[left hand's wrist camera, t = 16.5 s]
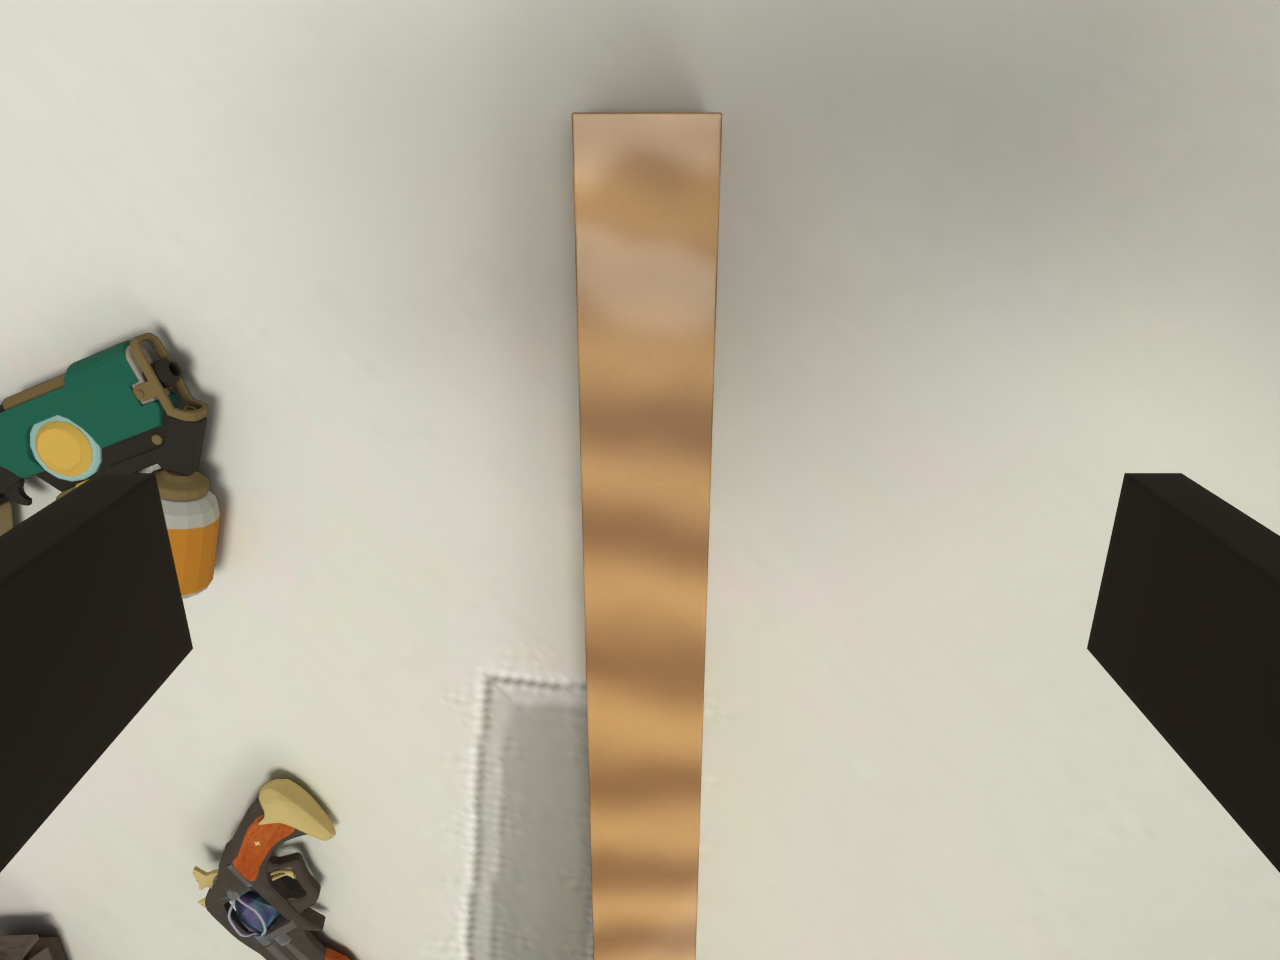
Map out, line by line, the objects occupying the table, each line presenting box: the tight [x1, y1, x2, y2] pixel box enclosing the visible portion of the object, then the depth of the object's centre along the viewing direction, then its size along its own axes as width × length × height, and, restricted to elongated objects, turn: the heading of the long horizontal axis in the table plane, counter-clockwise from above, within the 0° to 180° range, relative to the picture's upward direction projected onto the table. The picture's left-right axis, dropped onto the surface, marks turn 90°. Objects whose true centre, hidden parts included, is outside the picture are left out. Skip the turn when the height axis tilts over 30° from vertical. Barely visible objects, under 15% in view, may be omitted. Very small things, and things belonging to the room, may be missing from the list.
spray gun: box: [0, 333, 220, 599], centre depth 45 cm, size 4×17×15 cm
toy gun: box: [193, 779, 350, 960], centre depth 57 cm, size 3×19×10 cm
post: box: [572, 113, 722, 960], centre depth 50 cm, size 72×6×8 cm, turn 0°
